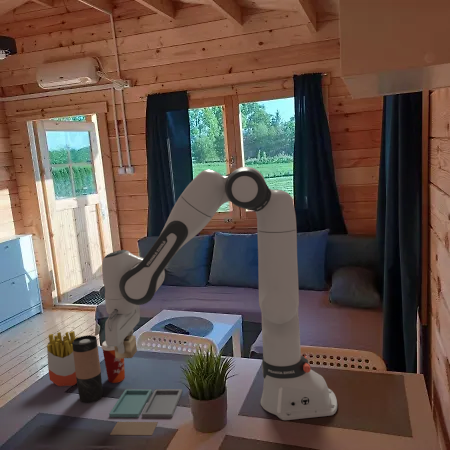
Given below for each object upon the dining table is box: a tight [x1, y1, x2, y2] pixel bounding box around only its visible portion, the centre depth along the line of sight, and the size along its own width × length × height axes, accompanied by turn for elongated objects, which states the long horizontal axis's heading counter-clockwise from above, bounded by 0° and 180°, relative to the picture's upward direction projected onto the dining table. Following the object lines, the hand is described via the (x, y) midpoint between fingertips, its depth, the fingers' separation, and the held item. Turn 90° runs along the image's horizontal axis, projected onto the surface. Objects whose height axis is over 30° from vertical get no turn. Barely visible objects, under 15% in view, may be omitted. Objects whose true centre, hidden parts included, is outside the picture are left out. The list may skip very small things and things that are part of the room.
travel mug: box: [72, 334, 104, 404], centre depth 142 cm, size 8×8×20 cm
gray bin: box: [141, 388, 183, 419], centre depth 136 cm, size 9×14×2 cm, turn 173°
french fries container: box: [46, 330, 79, 387], centre depth 154 cm, size 5×11×18 cm, turn 88°
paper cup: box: [101, 340, 126, 384], centre depth 154 cm, size 8×8×14 cm
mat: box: [109, 421, 159, 437], centre depth 125 cm, size 12×6×1 cm, turn 83°
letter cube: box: [114, 335, 138, 359], centre depth 135 cm, size 5×5×5 cm
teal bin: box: [108, 388, 153, 418], centre depth 137 cm, size 9×14×2 cm, turn 173°
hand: (125, 347), depth 135 cm, fingers closed on letter cube, 5 cm apart
